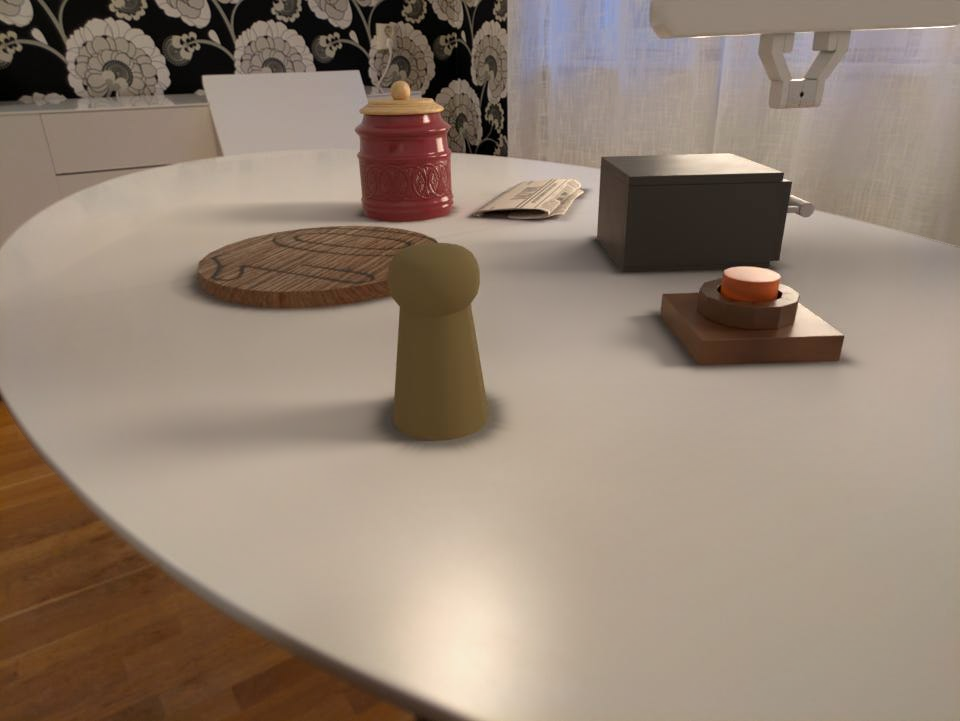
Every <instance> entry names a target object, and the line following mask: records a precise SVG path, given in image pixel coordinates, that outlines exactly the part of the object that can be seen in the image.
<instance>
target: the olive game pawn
mask: <svg viewBox="0 0 960 721" xmlns="http://www.w3.org/2000/svg"><path fill="white" fill-rule="evenodd" d="M387 281H388V288H389V291H390V294H391V295H390V296H391V298H392V299H393V301H394V302H395V303H396V304H397V305H398V307H399V314H398V327H397V328H398V330H397V346H396V347H397V348H396V362H395V380H394V396H393V413H392V422H393V424H394V427H395V428H396V429H397V430H398V431H399V432H401V433H402V434H403V435H406V436H408V437H411V438H414V439H417V440H422V441H423V440H424V441H431V442H437V441H439V442H440V441H451V440H456V439H460V438H465V437H467V436H469V435H472V434H474V433H477V432H478V431H479V430H481V429H482V428H483V427H485V425H487V422H488V421H489V419H490V414H489V413H490V412H489V405H488V399H487V392H486V387H485V381H484V374H483V369H482V363H481V358H480V357H481V356H480V351H479V345H478V338H477V334H476V327H475V321H474V315H473V309H472V303H473V301H474V300H475V299H476V297H477V295H478V293H479V289H480V285H481V272H480V267H479V263H478V259H477V258H476V257H475V255H474V254H473V252H472V251H471V250H469V249H468V248H467V247H465V246H463V245H459V244H455V243H449V242H438V243H423V244H417V245H412V246H409V247H406V248H403V249H402V250H400V251H399V252H397V253H396V254H394V256H393V258H392V260H391V262H390V264H389V268H388V274H387Z"/></svg>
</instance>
